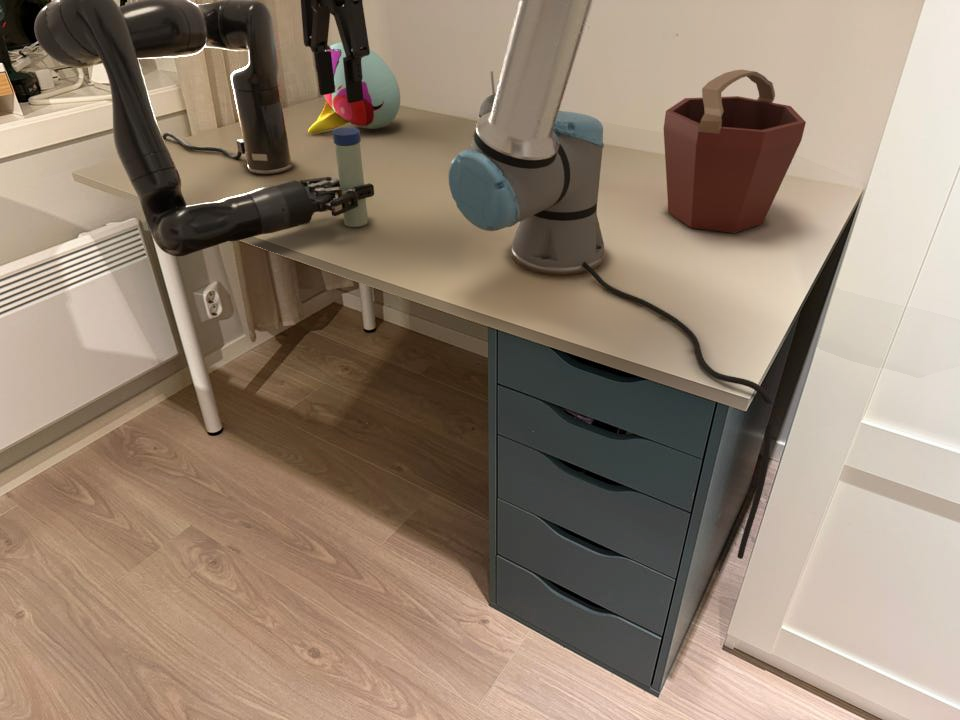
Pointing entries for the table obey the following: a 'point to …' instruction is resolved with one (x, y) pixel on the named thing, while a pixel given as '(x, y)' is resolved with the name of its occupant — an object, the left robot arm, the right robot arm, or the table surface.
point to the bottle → (351, 180)
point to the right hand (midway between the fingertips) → (341, 97)
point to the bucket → (728, 154)
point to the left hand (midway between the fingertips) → (365, 185)
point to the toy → (377, 95)
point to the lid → (346, 136)
